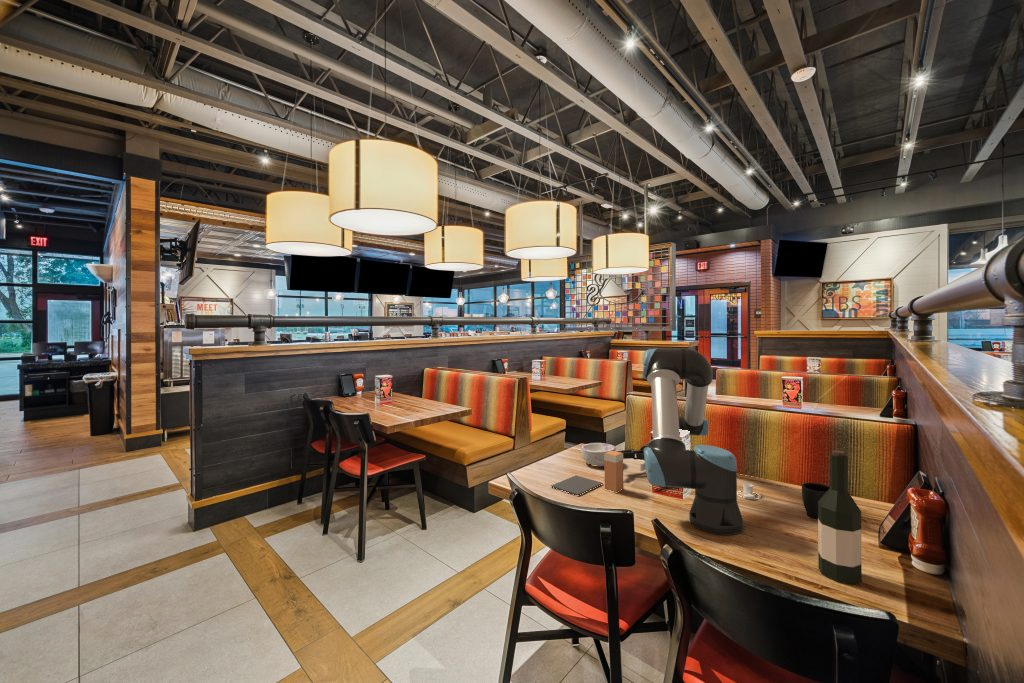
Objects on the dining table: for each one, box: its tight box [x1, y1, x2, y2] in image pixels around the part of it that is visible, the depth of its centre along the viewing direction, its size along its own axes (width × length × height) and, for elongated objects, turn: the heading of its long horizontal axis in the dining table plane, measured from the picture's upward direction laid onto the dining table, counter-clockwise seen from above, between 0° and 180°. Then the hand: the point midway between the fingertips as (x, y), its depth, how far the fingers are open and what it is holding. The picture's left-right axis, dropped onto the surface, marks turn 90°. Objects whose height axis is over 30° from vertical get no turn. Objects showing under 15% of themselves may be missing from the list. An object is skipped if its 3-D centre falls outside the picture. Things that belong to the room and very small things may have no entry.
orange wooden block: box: [603, 450, 625, 493], centre depth 159 cm, size 5×5×14 cm
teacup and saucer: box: [737, 482, 762, 500], centre depth 151 cm, size 9×8×4 cm
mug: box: [801, 482, 830, 521], centre depth 131 cm, size 8×12×10 cm
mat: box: [550, 475, 604, 496], centre depth 164 cm, size 13×16×1 cm
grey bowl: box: [580, 442, 617, 466], centre depth 190 cm, size 15×15×8 cm
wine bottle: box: [817, 449, 863, 586], centre depth 102 cm, size 8×8×30 cm
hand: (625, 463), depth 165 cm, fingers open, 13 cm apart
